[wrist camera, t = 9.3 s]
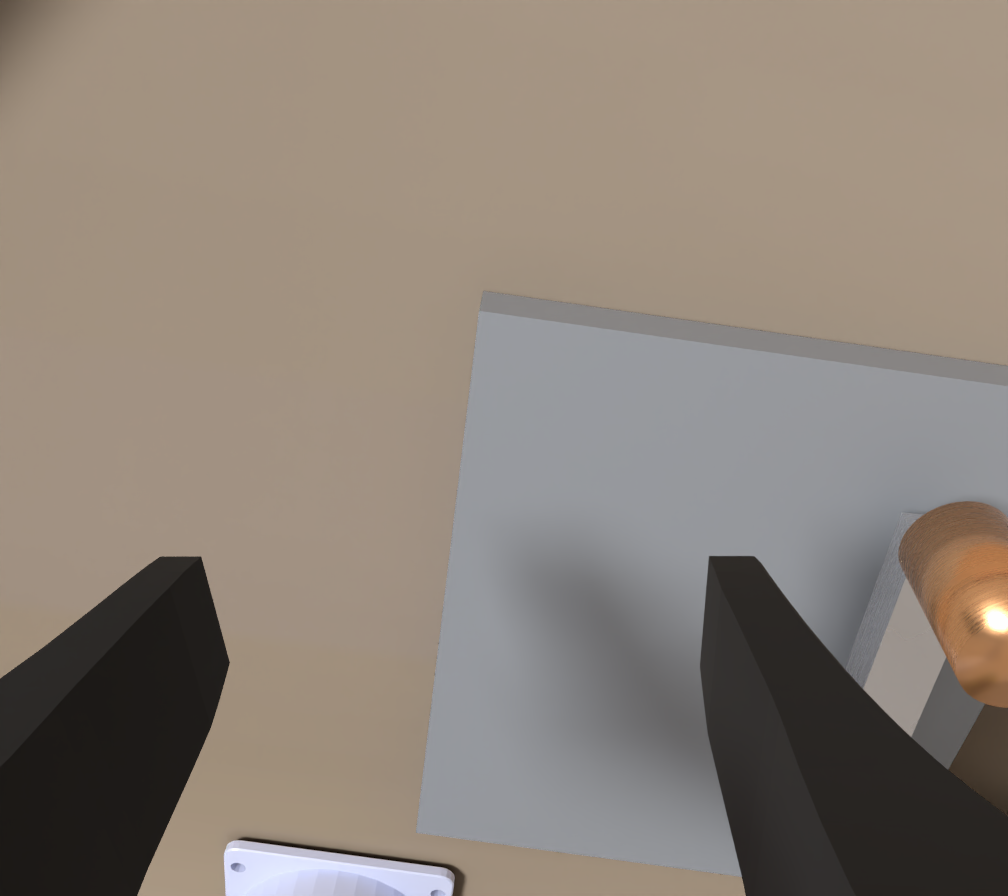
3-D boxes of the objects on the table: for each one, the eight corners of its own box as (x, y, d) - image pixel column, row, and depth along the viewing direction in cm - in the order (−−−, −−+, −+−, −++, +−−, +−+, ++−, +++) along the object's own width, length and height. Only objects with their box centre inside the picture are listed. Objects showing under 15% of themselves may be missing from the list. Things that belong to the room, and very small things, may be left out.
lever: (840, 893, 28) (886, 1059, 24) (743, 883, 28) (772, 1047, 24) (1021, 477, 20) (1134, 619, 16) (886, 465, 20) (964, 602, 16)
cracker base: (1023, 882, 30) (1078, 999, 27) (421, 801, 30) (403, 909, 27) (1346, 414, 21) (1487, 506, 18) (483, 291, 21) (467, 361, 18)
